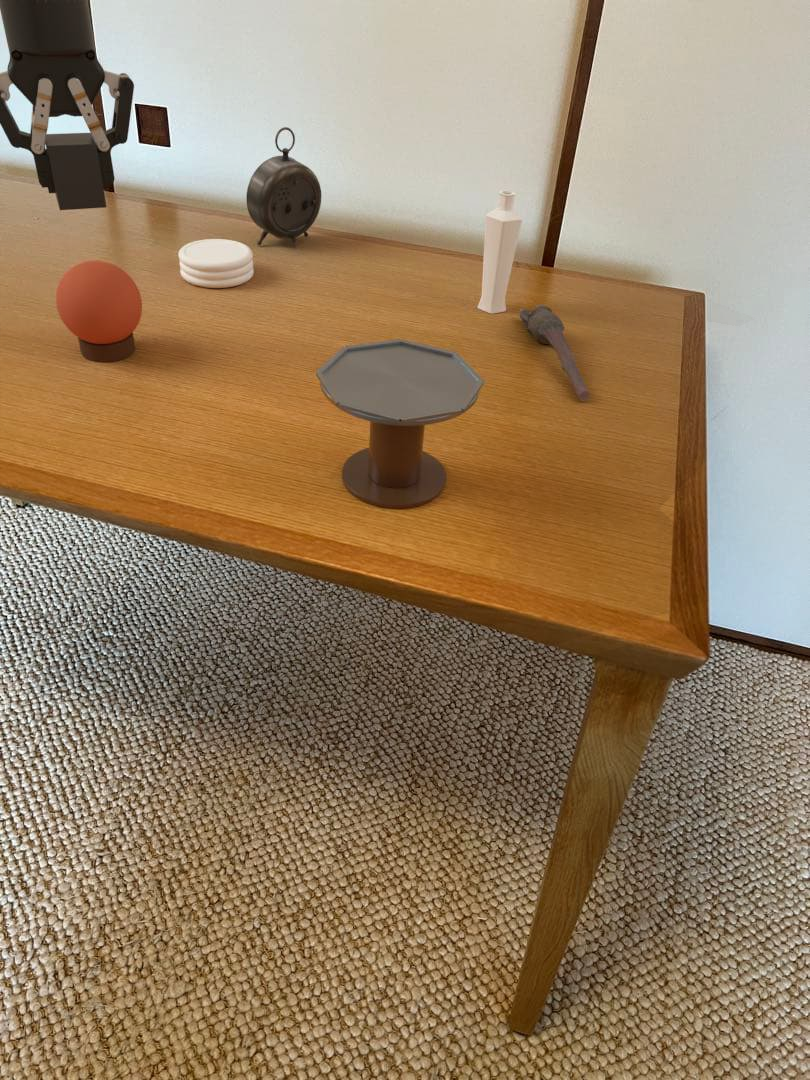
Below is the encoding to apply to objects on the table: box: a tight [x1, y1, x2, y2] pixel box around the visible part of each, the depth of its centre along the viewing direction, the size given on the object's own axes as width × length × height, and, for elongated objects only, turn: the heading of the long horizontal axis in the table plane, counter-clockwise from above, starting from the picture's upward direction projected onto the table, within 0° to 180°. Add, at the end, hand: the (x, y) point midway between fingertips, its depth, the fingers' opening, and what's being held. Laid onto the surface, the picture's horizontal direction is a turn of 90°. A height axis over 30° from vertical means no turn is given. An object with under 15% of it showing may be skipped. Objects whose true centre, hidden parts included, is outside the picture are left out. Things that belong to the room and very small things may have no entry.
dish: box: [315, 338, 485, 510], centre depth 74 cm, size 14×14×11 cm
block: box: [45, 132, 108, 211], centre depth 82 cm, size 4×4×6 cm
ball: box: [55, 260, 143, 363], centre depth 91 cm, size 9×9×10 cm
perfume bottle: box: [476, 189, 523, 315], centre depth 106 cm, size 5×4×15 cm
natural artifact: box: [519, 304, 591, 403], centre depth 99 cm, size 4×23×4 cm, turn 5°
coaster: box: [178, 238, 255, 289], centre depth 112 cm, size 10×10×4 cm
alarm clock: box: [245, 126, 322, 248], centre depth 119 cm, size 11×5×16 cm, turn 130°
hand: (78, 188), depth 83 cm, fingers closed on block, 4 cm apart
